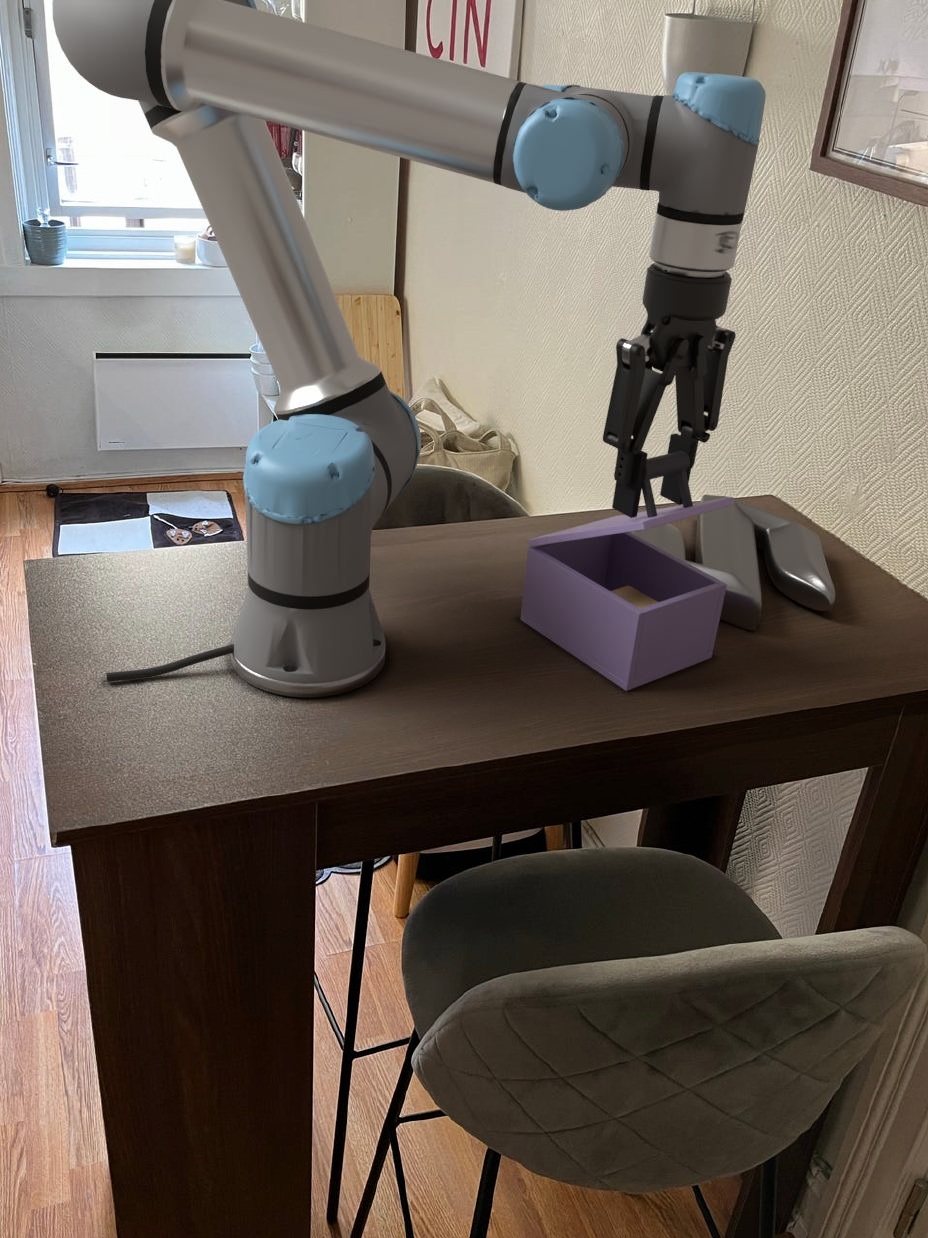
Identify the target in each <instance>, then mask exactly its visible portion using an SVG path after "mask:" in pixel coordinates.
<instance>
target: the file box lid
mask: <svg viewBox="0 0 928 1238" xmlns="http://www.w3.org/2000/svg"><path fill="white" fill-rule="evenodd" d="M689 466H690V458H689V456H688V454H687V453H686V452H684V451H678V452H674V453H670V454H667V453H666V454H662V455H657V456H653V457H649V458H648V457H647V460H646V466H645V472H644V478H643V484H642V490H641V493H642V496H643V502H644V506H645V510H646V511H645V512H639V513H637V517H633V518H630V517H628V516H627V515H625V514H622V515H614V516H611V517H607V518H603V519H600V520H596V521H592V522H589V523H584V524H582V525H577V526H574V527H573V526H572V527H569V528H566V529H562V530H558V531H555V532H551V533H547V534H544V535H540V536H536V537H533V538H528V540H527V541H528V546H529V547H532V546H539V545H546V544H553V543H559V542H566V541H573V540H579V539H586V538H593V537H600V536H606V535H613V534H620V533H626V532H633V531H640V530H646V529H649V528H653V527H656V526H660V525H663V524H667V523H670V524H671V523H674V522H677V521H681V520H684V519H688V518H692V517H695V516H698V515H699V514H702V513H706V512H710V511H713V510H717V509H720V508H724V507H727V506H731V505H734V500H733V499H734V496H727V497H728V498H722V499H716V500H710V501H704V502H700V501H699V502H693V499H692V494H691V490H690V489H691V488H690V485H689V483H688V479H687V474H686V470H687V469H688V468H689ZM675 473H677V478H678V483H679V488H680V493H681V497H682V502H683V504H681V505H675V506H669V507H663V508H657V507H656V502H655V497H654V492H653V488H652V483H651V480H654V479H658V478H663V476H666V475H670V474H675Z"/></svg>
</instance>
